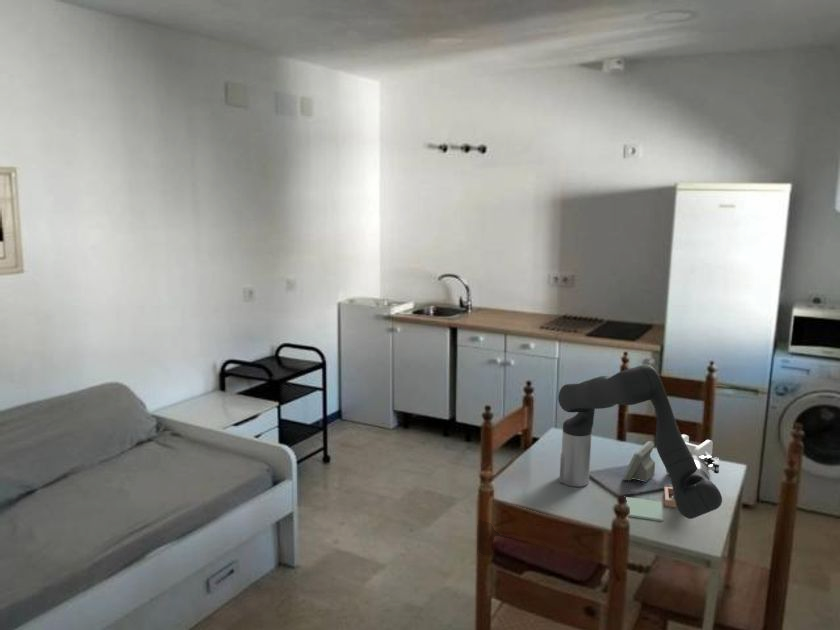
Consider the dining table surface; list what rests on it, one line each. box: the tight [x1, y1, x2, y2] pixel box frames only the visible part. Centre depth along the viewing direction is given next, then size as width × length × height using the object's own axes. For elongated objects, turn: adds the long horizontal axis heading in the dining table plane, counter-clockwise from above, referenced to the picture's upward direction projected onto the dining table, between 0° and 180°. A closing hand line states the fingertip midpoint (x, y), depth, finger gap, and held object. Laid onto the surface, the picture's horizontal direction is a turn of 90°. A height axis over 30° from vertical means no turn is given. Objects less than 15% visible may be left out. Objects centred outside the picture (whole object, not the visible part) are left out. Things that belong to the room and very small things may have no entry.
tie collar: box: [663, 486, 677, 508], centre depth 208 cm, size 10×10×2 cm
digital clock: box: [622, 440, 656, 482], centre depth 226 cm, size 16×9×11 cm, turn 133°
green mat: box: [625, 496, 664, 522], centre depth 202 cm, size 12×12×1 cm
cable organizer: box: [665, 433, 714, 474], centre depth 228 cm, size 15×11×12 cm
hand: (689, 453), depth 192 cm, fingers open, 8 cm apart
